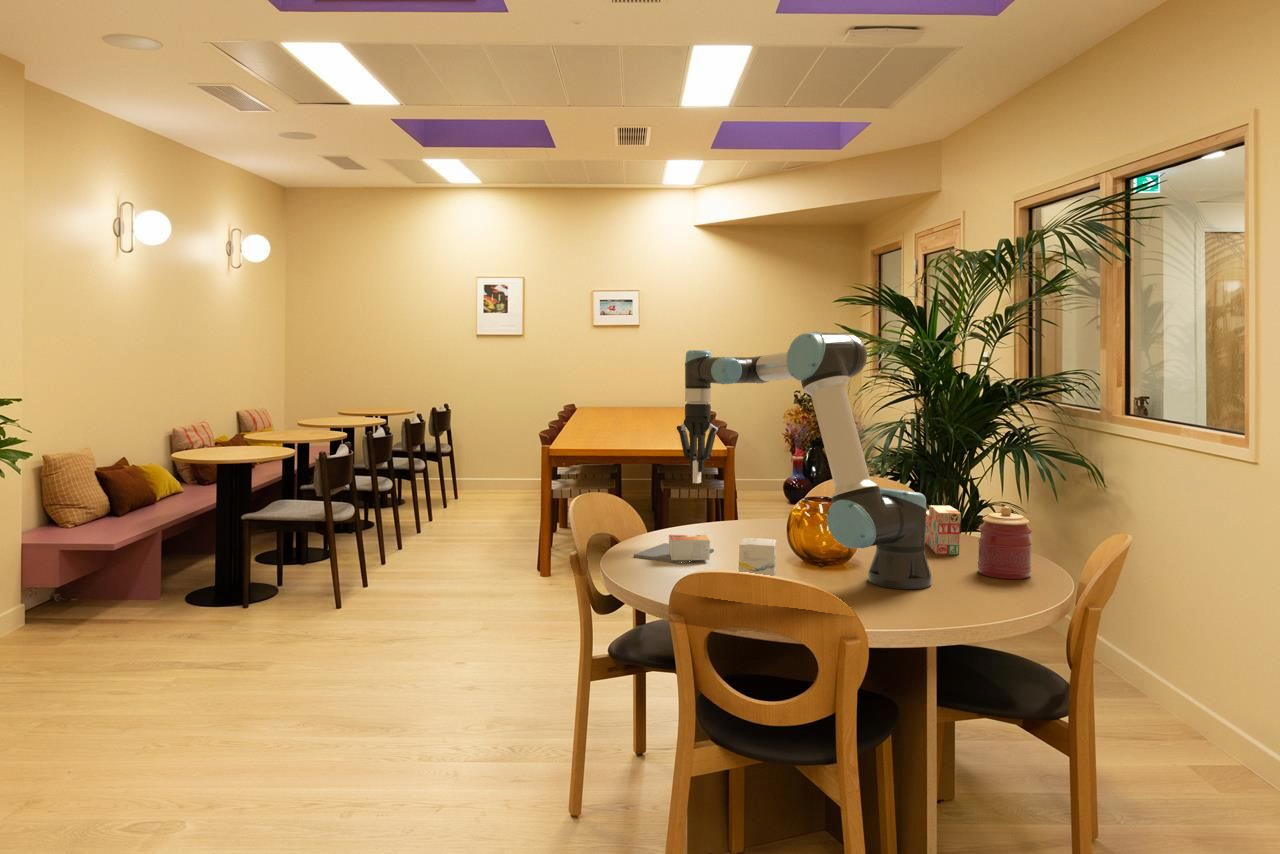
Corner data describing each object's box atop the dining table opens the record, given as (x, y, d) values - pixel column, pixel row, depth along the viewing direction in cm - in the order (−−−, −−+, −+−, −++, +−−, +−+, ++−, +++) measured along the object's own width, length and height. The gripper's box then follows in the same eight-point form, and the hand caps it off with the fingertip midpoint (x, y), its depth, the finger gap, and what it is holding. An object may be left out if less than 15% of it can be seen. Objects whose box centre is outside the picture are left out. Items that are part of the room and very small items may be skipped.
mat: (713, 551, 267) (713, 548, 267) (685, 563, 251) (685, 560, 251) (664, 545, 275) (664, 543, 275) (633, 557, 259) (633, 554, 259)
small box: (710, 540, 252) (671, 540, 251) (710, 560, 252) (671, 560, 252) (706, 534, 260) (668, 534, 259) (705, 554, 260) (668, 554, 260)
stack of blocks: (921, 540, 286) (922, 500, 285) (942, 540, 286) (943, 500, 285) (937, 554, 265) (938, 511, 264) (959, 555, 265) (961, 512, 264)
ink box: (774, 594, 220) (774, 545, 219) (737, 592, 222) (738, 543, 221) (776, 585, 229) (776, 538, 228) (741, 583, 230) (741, 537, 229)
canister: (966, 570, 246) (968, 503, 244) (1005, 566, 250) (1007, 501, 249) (1001, 581, 233) (1004, 511, 232) (1042, 577, 238) (1045, 509, 237)
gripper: (723, 403, 274) (722, 482, 276) (683, 401, 281) (683, 479, 283) (712, 404, 268) (711, 485, 270) (672, 402, 274) (671, 482, 276)
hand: (696, 482), depth 276 cm, fingers closed
